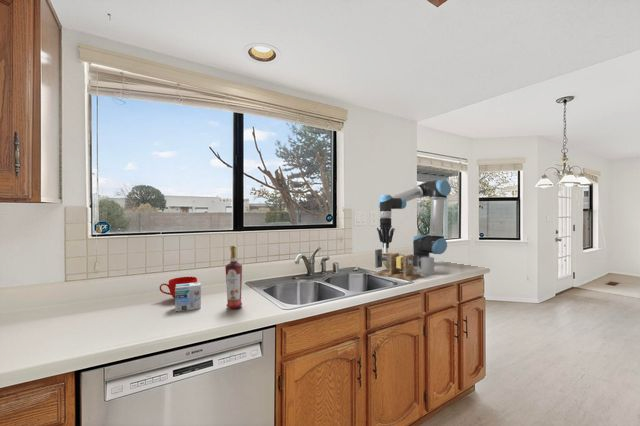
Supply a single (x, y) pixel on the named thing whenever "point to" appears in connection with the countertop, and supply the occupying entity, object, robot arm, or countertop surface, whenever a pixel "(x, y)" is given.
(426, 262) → the mug
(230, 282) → the liquor
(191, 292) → the light bulb box
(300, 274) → the countertop surface
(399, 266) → the collar
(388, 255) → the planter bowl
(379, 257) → the shaft
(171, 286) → the ceramic cup
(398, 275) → the bearing block
